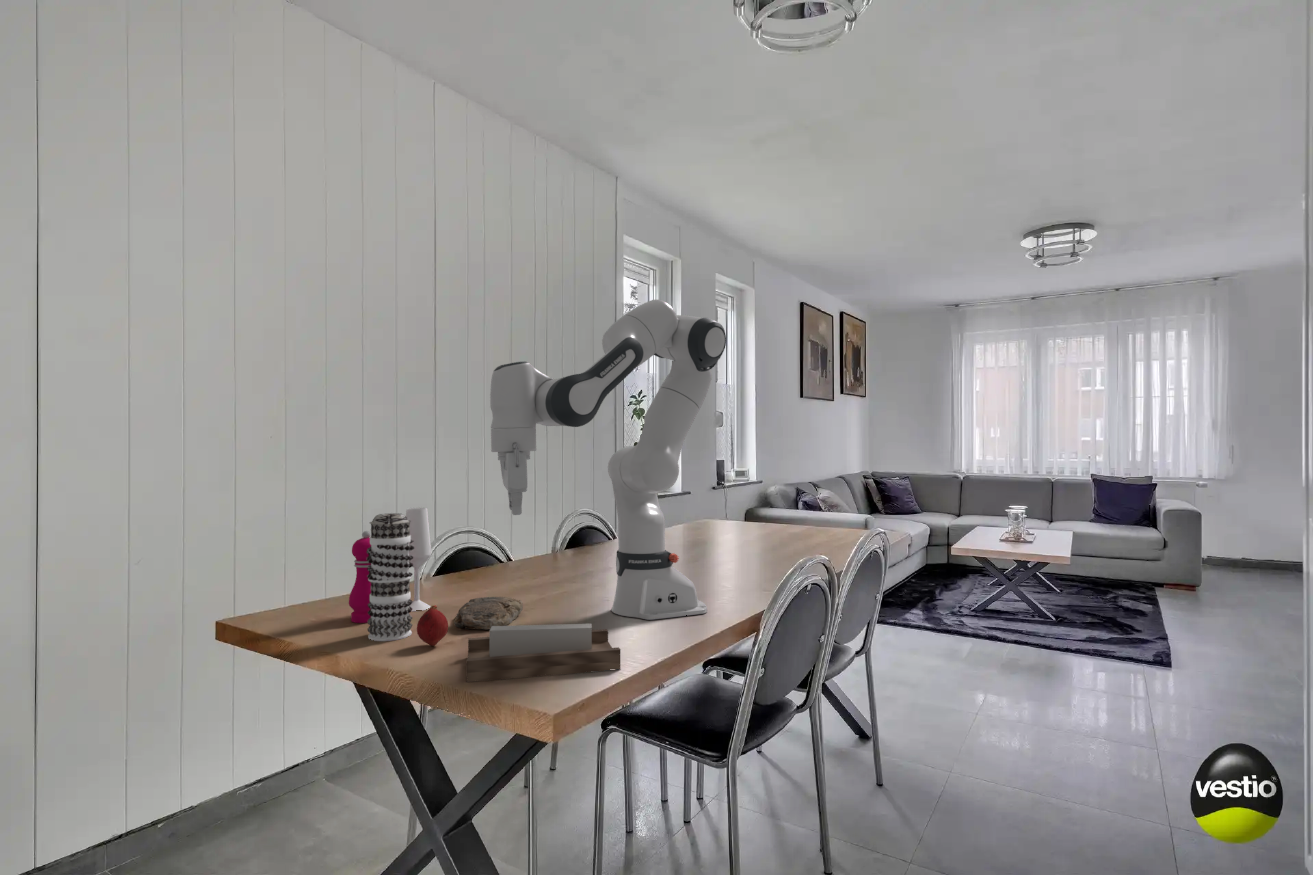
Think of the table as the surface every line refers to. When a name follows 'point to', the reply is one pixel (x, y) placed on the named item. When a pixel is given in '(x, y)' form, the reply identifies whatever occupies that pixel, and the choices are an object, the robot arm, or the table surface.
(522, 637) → the clay strip
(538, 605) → the table surface
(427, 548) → the champagne flute
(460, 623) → the rough brown rock
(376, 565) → the decorative candle
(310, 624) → the table surface
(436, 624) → the onion
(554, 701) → the table surface
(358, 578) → the pepper mill
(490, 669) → the grooved wooden tray
